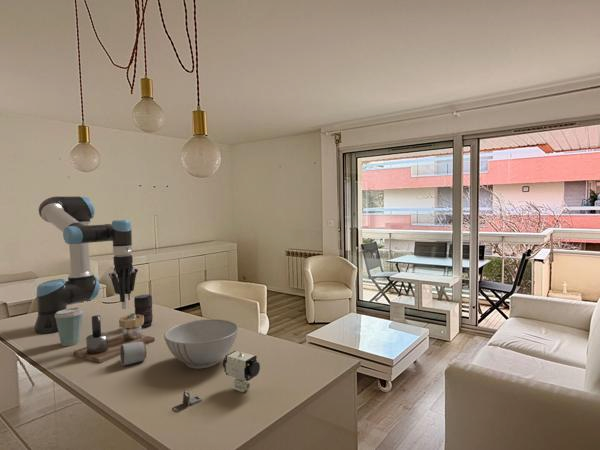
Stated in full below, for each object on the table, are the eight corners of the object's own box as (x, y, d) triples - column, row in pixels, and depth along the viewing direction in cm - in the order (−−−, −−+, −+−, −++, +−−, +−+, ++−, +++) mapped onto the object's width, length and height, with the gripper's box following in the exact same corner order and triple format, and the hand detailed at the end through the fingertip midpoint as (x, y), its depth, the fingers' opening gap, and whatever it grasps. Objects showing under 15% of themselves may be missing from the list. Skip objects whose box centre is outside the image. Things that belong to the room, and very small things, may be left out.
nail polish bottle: (82, 352, 145) (81, 317, 145) (100, 346, 152) (99, 312, 151) (94, 356, 142) (92, 320, 141) (112, 349, 148) (110, 315, 148)
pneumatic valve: (232, 381, 122) (231, 346, 121) (261, 390, 116) (260, 353, 115) (221, 389, 117) (219, 352, 117) (249, 398, 111) (248, 359, 110)
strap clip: (197, 398, 113) (196, 384, 112) (202, 401, 110) (202, 387, 110) (171, 409, 106) (170, 395, 106) (176, 413, 104) (175, 399, 104)
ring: (118, 329, 155) (117, 320, 154) (122, 322, 164) (121, 314, 163) (142, 326, 157) (142, 318, 157) (144, 320, 166) (144, 312, 166)
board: (73, 355, 147) (73, 351, 147) (128, 335, 169) (128, 331, 169) (100, 363, 139) (100, 359, 139) (154, 340, 161) (154, 337, 161)
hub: (119, 339, 159) (118, 320, 159) (134, 334, 166) (133, 315, 165) (130, 342, 156) (129, 322, 155) (145, 336, 162) (144, 317, 162)
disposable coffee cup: (52, 349, 153) (51, 314, 152) (58, 341, 163) (57, 307, 162) (82, 345, 157) (80, 311, 156) (86, 337, 167) (84, 304, 166)
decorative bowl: (159, 382, 123) (157, 346, 122) (171, 351, 149) (170, 321, 148) (240, 373, 128) (239, 339, 127) (238, 345, 154) (237, 316, 154)
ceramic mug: (148, 362, 139) (147, 342, 138) (124, 368, 134) (123, 347, 133) (140, 354, 147) (139, 335, 147) (117, 360, 142) (116, 340, 142)
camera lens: (156, 323, 185) (155, 294, 184) (147, 328, 177) (146, 298, 176) (140, 323, 186) (139, 294, 185) (132, 328, 178) (130, 298, 177)
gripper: (114, 257, 153) (117, 313, 155) (141, 253, 165) (143, 305, 166) (103, 256, 157) (106, 311, 158) (130, 253, 168) (132, 304, 170)
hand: (125, 308), depth 162 cm, fingers closed
